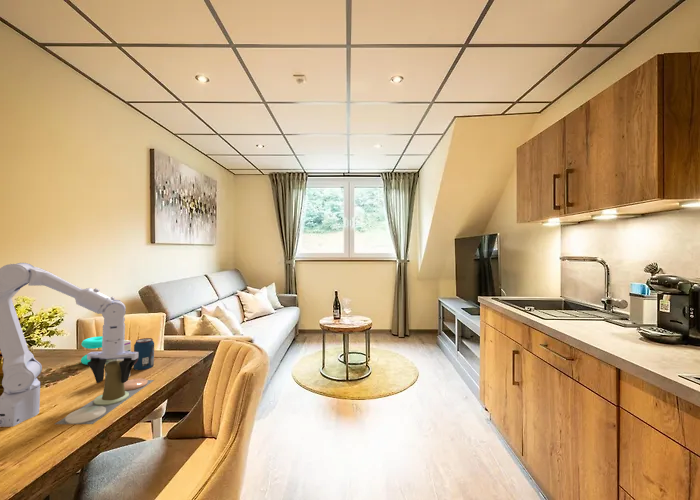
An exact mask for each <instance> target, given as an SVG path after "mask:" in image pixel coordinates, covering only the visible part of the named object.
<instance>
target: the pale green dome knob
mask: <svg viewBox="0 0 700 500" xmlns="http://www.w3.org/2000/svg"><path fill="white" fill-rule="evenodd" d="M102 396H103V393H102V394H99V395H98V396H96V397H95V398H94V399H93V400H94V404H95V405H99V406H104V405H111V404H115V403H119V402H121V401H124V400H125V399H127V398H128V397H129V393H128V392H126V391H125V395H124V396H123V397H121V398H118V399H115V400H103V399H102ZM127 400H128V399H127ZM124 402H125V401H124Z"/></svg>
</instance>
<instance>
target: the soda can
mask: <svg viewBox="0 0 700 500" xmlns="http://www.w3.org/2000/svg"><path fill="white" fill-rule="evenodd" d="M133 352H138V358H137V360H136V362H135V363H134V365H133V367H132V369H133V370H135V371H144V370H149V369H152V368H153V367H154V364H155V362H154V361H155V342H154V339H153V338H151V337H150V338H149V337H146V338H145V337H143V338H139V339H136V340H135V343H134V345H133Z"/></svg>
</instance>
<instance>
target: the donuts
mask: <svg viewBox="0 0 700 500" xmlns="http://www.w3.org/2000/svg"><path fill="white" fill-rule="evenodd" d="M102 336H103V335H101V336H91V337H89V338H86V339H85V338H84V340H82V342H81V344H80V345H81V346H82V347H83V348H84V349H89V350H92V349H93V350H95V349H100V348H101V349H102ZM88 362H90V360H87V354H85V355H83V356H82V357H81V359H80V363H81V364H83V365H86V366H88Z"/></svg>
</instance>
